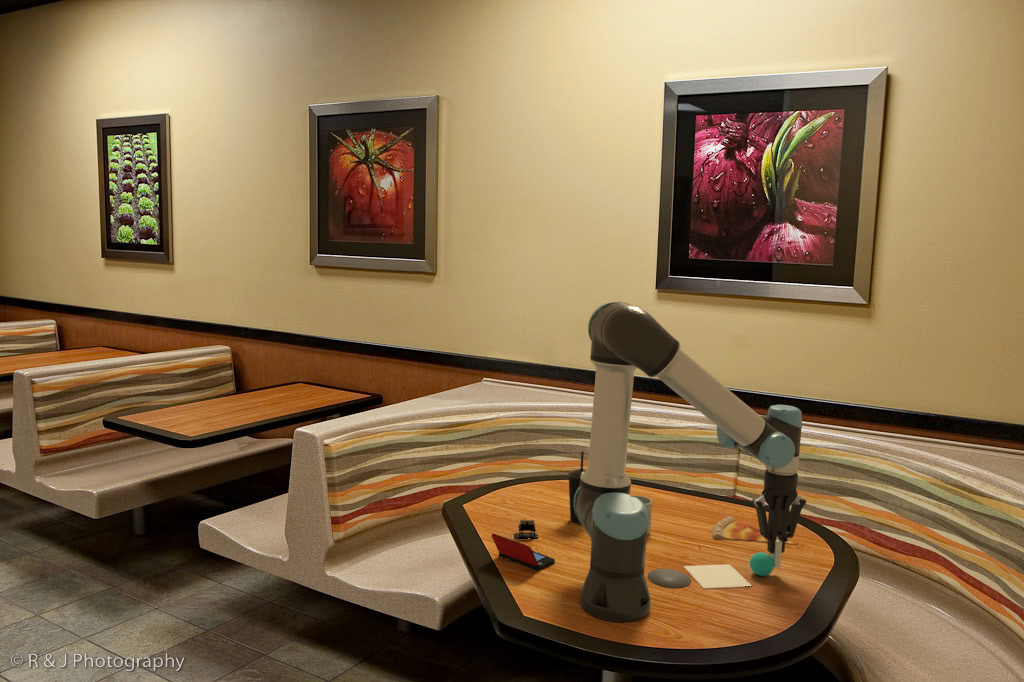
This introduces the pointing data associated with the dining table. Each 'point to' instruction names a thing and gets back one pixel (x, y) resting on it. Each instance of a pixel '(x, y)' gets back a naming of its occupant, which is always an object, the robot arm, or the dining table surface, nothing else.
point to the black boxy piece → (526, 526)
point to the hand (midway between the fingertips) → (774, 565)
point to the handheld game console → (521, 553)
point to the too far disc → (669, 578)
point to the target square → (717, 576)
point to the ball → (761, 564)
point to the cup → (649, 509)
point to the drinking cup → (574, 488)
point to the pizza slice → (737, 531)
